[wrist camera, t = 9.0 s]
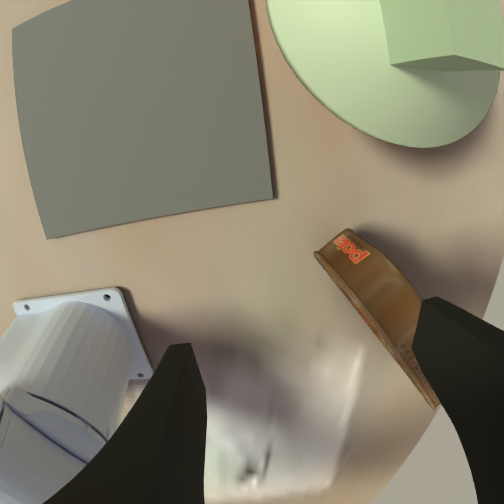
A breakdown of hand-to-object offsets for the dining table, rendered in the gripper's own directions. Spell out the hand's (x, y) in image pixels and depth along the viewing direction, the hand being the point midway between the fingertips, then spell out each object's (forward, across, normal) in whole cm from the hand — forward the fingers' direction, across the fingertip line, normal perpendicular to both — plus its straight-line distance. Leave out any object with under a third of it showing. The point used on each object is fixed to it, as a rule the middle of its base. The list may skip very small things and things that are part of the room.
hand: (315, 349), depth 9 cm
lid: (+6, -6, -11) cm, 14 cm away
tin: (+11, -7, +6) cm, 14 cm away
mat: (+10, +7, -9) cm, 15 cm away
